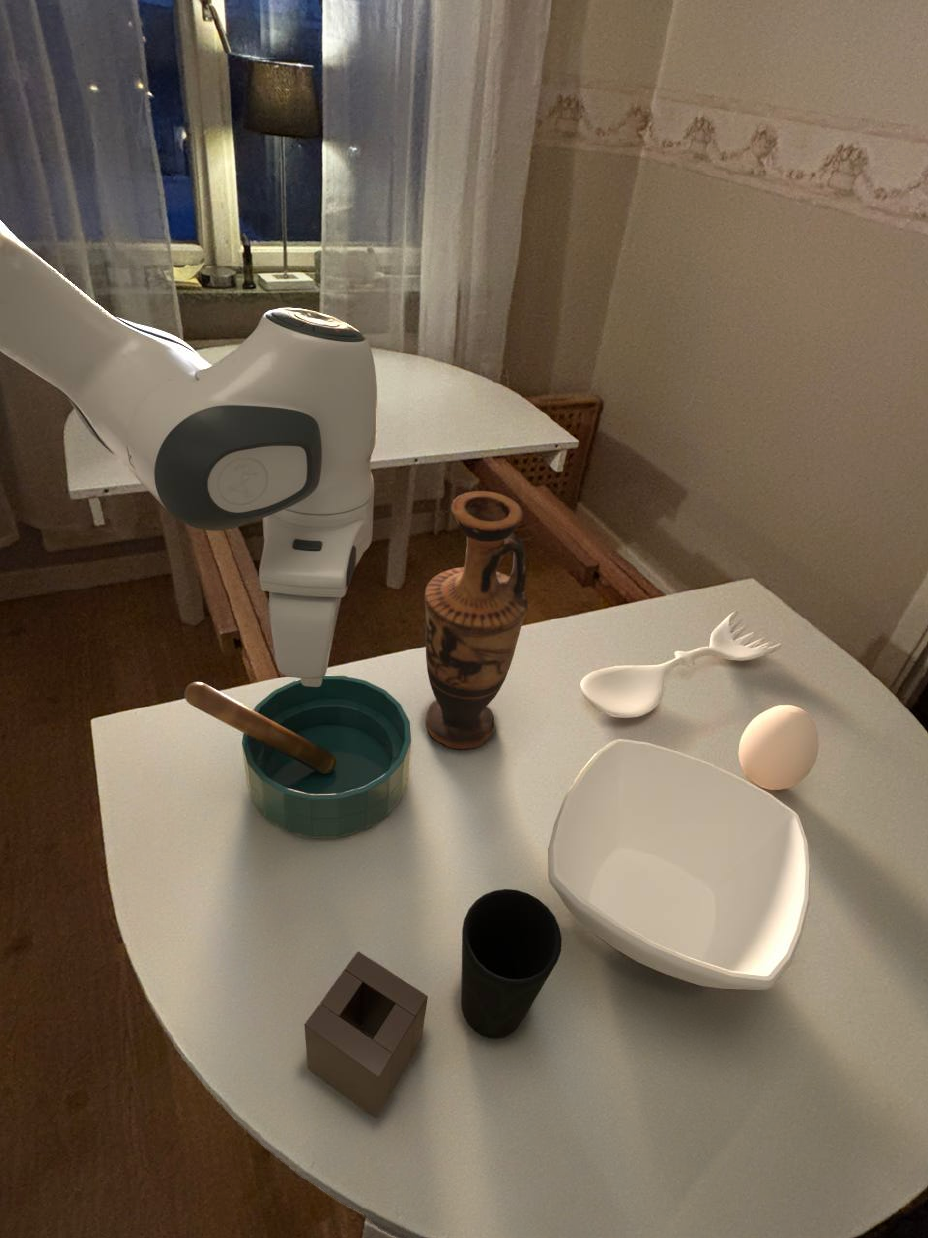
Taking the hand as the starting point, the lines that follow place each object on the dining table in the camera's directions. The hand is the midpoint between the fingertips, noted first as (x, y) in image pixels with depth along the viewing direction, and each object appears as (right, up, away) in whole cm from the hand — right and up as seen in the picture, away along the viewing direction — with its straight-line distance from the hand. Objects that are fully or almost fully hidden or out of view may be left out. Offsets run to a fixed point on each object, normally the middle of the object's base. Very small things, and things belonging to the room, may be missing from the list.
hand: (320, 646), depth 69 cm
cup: (+16, -31, -5) cm, 35 cm away
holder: (+5, -33, -9) cm, 34 cm away
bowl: (+32, -26, +3) cm, 41 cm away
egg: (+49, -17, +18) cm, 55 cm away
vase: (+13, -10, +21) cm, 26 cm away
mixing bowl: (-2, -15, +12) cm, 19 cm away
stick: (-1, -14, +12) cm, 18 cm away
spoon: (+42, -5, +32) cm, 53 cm away
